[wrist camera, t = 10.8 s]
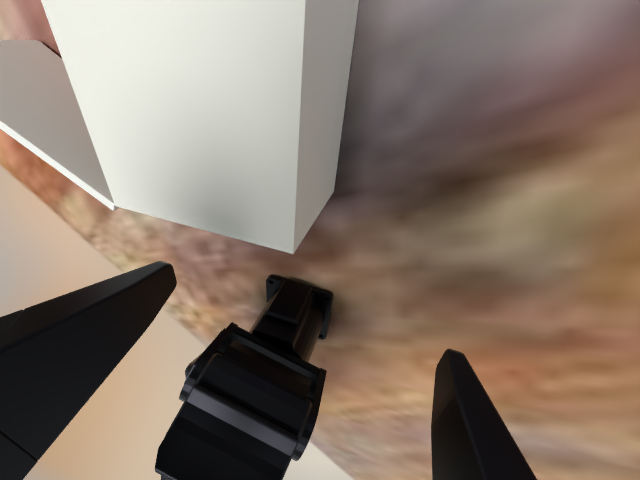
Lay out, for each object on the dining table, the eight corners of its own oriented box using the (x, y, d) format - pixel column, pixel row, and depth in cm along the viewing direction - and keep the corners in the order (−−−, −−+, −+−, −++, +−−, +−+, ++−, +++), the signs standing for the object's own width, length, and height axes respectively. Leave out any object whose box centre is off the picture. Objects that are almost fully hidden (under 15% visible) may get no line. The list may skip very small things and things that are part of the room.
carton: (334, 191, 21) (293, 254, 14) (201, 162, 23) (115, 206, 17) (371, -95, 13) (317, -238, 6) (162, -99, 15) (-35, -210, 9)
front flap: (196, 163, 23) (43, 239, 14) (192, 172, 23) (43, 251, 14) (38, 40, 21) (-256, 33, 12) (38, 53, 22) (-241, 56, 13)
